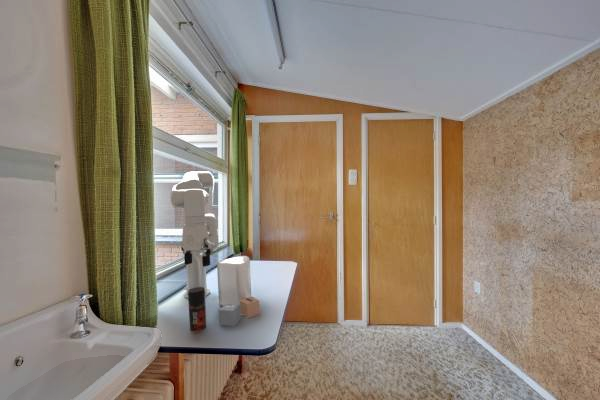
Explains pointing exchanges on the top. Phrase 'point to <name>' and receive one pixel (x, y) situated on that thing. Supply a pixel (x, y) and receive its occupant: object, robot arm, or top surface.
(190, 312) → the deodorant
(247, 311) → the terracotta block marked
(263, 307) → the top surface
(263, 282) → the top surface
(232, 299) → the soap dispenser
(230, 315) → the slate block marked
